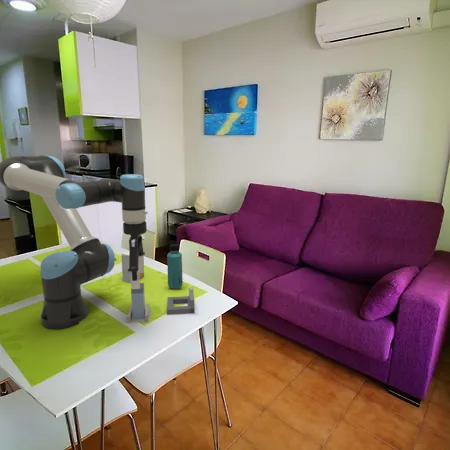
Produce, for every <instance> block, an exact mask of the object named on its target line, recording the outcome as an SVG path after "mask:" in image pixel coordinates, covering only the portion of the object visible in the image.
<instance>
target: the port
mask: <svg viewBox="0 0 450 450" xmlns="http://www.w3.org/2000/svg"><path fill="white" fill-rule="evenodd" d="M166 299H167V305H166V315H168V316H169V315H185V314H187V315H188V314H189V315H190V314H195V292H194V288H193V287H188V296H187V295H185V296H167V298H166ZM181 304H183V305H182V306H181ZM184 304H187V305H184ZM174 305H180V306H174Z"/></svg>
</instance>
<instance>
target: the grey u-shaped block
mask: <svg viewBox="0 0 450 450" xmlns="http://www.w3.org/2000/svg"><path fill="white" fill-rule="evenodd" d="M151 314H152V310H151V309H150V304H149V303H148V304H146V305H145V317H144V319H133V316H132V304H131V305H129V308H128V313H127V316H126V322H125V323H126V324H129V323H130V324H131V323H134V324H135V323H147V322H150V321H151V320H150V319H151Z"/></svg>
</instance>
